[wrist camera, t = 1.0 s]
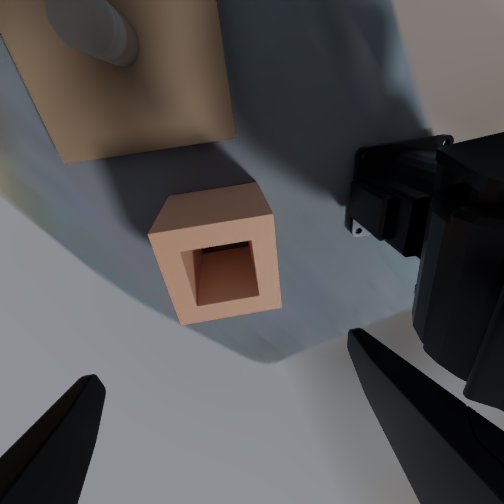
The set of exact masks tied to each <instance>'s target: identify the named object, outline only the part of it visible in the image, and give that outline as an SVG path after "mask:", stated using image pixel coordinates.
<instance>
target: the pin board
mask: <svg viewBox="0 0 504 504" xmlns="http://www.w3.org/2000/svg"><path fill="white" fill-rule="evenodd" d="M0 33H1V35H2V37H3V39H4V41H5V43H6V46H7V48H8V50H9V52H10V54H11V56H12V58H13V60H14V62H15V64H16V66H17V68H18V70H19V73H20V75H21V77H22V79H23V81H24V83H25V85H26V87H27V89H28V91H29V93H30V95H31V97H32V100H33V102H34V104H35V106H36V108H37V110H38V112H39V114H40V116H41V118H42V120H43V122H44V124H45V127H46V129H47V131H48V133H49V135H50V137H51V139H52V141H53V143H54V145H55V147H56V149H57V151H58V154H59V156H60V158H61V160H62V162H63V164H68V163H75V162H81V161H88V160H94V159H101V158H108V157H114V156H121V155H128V154H134V153H141V152H148V151H154V150H161V149H167V148H174V147H181V146H187V145H194V144H201V143H207V142H214V141H220V140H227V139H234V138H236V132H235V125H234V118H233V111H232V104H231V97H230V90H229V83H228V76H227V69H226V62H225V55H224V48H223V41H222V35H221V28H220V21H219V14H218V7H217V0H0Z"/></svg>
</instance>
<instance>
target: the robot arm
mask: <svg viewBox="0 0 504 504" xmlns="http://www.w3.org/2000/svg"><path fill="white" fill-rule="evenodd" d="M444 141H445V144H444V145H443V142H444ZM453 142H454V139H453V137H452V136H451V135H444V134H443V135H437V136H430V137H424V138H417V139H411V140H405V141H398V142H392V143H385V144H379V145H372V146H366V147H362V148H360V149H359V150H358V151H357V153H356V157H355V171H354V180H353V181H352V183H351V191H350V206H349V216H350V217H351V224H350V232H351V234H352V235H353V236H355V237H361V236H367V235H373V236H374V237H376V238H377V239H378V240H379V241H383V240H385V241H386V242H387V243H388V244H390V245H391V246H392V247H393V248H394V249H396V250H397V251H398V252H399V253H401V254H402V255H403V256H404V257H410V256H416V257H418V258H419V259H420V266H419V272H418V278H417V284H416V285H415V291H414V293H415V297H414V303H413V309H412V319H413V327H414V329H415V330H416V332H417V334H418V336H419V338H420V340H421V341H422V343H423V344H424V345H423V349H424V351H425V352H426V353H427V354H428V355H429V356H430V357H432V359H433V360H434V361H436V362H437V363H438V364H439V365H441V366H442V367H444V368H445V369H446V370H448V371H449V372H451V373H452V374H454V375H455V376H457V377H458V378H460V379H462V380H464V381H466V382H467V383H466V385H465V388H464V390H463V395H464V396H465V397H466V398H467V399H470V400H472V401H476V402H479V403H482V404H485V405H488V406H491V407H495V408H498V409H500V410H502V411H504V132H501V133H497V134H493V135H488V136H484V137H480V138H476V139H471V140H467V141H463V142H459V143H455V144H453ZM364 152H366V153H367V155H366V157H365V158H363V159H362V155H363V153H364ZM358 228H359V230H358V231H357V232H355V231H356V230H357V229H358ZM347 348H348V351H349V354H350V356H351V359H352V362H353V364H354V367H355V370H356V372H357V375H358V377H359V380H360V383H361V385H362V388H363V390H364V393H365V395H366V397H367V399H368V401H369V403H370V405H371V407H372V409H373V411H374V413H375V415H376V417H377V419H378V421H379V423H380V425H381V427H382V429H383V431H384V433H385V435H386V437H387V439H388V441H389V443H390V445H391V446H392V449H393V451H394V453H395V454H396V457H397V458H398V460H399V462H400V464H401V466H402V468H403V470H404V472H405V474H406V476H407V478H408V480H409V482H410V484H411V486H412V488H413V490H414V492H415V494H416V496H417V498H418V500H419V502H420V504H504V431H503V430H501V429H500V428H498V427H497V426H496V425H494V424H493V423H491V422H490V421H489V420H487V419H486V418H484V417H483V416H481V415H480V414H479V413H477V412H476V411H475V410H473V409H472V408H470V407H469V406H466V404H465V403H463V402H462V401H461V400H459V399H458V398H457V397H455V396H454V395H452V394H451V393H450V392H448V391H447V390H446V389H444V388H443V387H441V386H440V385H439V384H437V383H436V382H435V381H433V380H432V379H430V378H429V377H428V376H426V375H425V374H424V373H422V372H421V371H419V370H418V369H417V368H415V367H414V366H413V365H411V364H410V363H408V362H407V361H406V360H404V359H403V358H402V357H400V356H399V355H397V354H396V353H394V352H393V351H392V350H390V349H389V348H388V347H386V346H385V345H384V344H382V343H381V342H380V341H378V340H377V339H376V338H374V337H373V336H371V335H370V334H369V333H367V332H366V331H365V330H363V329H361V328H355V329H350V330H349V332H348V341H347ZM105 395H106V390H105V387H104V385H103V384H102V382H101V381H100V379H99V378H98V377H97V375H95V374H92V375H86V376H82V377H81V378H80V379H78V380H77V381H76V382H75V383H74V384H73V386H71V387H70V389H68V390H67V392H66V393H64V395H62V396H61V398H60V399H58V400H57V401H56V402H55V404H54V405H52V406H51V407H50V408H49V410H47V411H46V412H45V413H44V414H43V415H42V416H41V417H40V418H39V420H37V421H36V422H35V424H34V425H32V426H31V427H30V428H29V429H28V430H27V431H26V432H25V433H24V434H23V435H22V436H21V437H20V438H19V439H18V440H17V441H16V442H15V443H14V444H13V445H12V446H11V447H10V448H9V449H8V450H7V451H6V452H5V453H4V454H3V455H2V456H1V457H0V504H78V500H79V497H80V494H81V491H82V487H83V484H84V481H85V477H86V474H87V470H88V467H89V464H90V461H91V457H92V454H93V451H94V447H95V443H96V439H97V435H98V430H99V425H100V420H101V415H102V410H103V405H104V400H105Z"/></svg>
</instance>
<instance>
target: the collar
mask: <svg viewBox="0 0 504 504" xmlns="http://www.w3.org/2000/svg"><path fill="white" fill-rule="evenodd" d="M148 237H149V240H150V242H151V245H152V248H153V251H154V253H155V256H156V259H157V261H158V264H159V267H160V269H161V272H162V275H163V278H164V280H165V283H166V286H167V288H168V291H169V294H170V296H171V299H172V302H173V304H174V307H175V310H176V313H177V315H178V318H179V321H180V323H181V325H186V324H192V323H198V322H203V321H209V320H215V319H220V318H226V317H232V316H237V315H243V314H249V313H254V312H260V311H266V310H272V309H277V308H282V306H281V295H280V284H279V273H278V261H277V250H276V239H275V228H274V217H273V212H272V210H271V209H270V207H269V205H268V203H267V201H266V199H265V197H264V195H263V193H262V191H261V189H260V187H259V185H258V183H257V182H254V183H247V184H241V185H234V186H228V187H222V188H215V189H209V190H203V191H196V192H190V193H184V194H177V195H171V196H169V197H168V198H167V200H166V202H165V204H164V206H163V207H162V209H161V211H160V213H159V215H158V216H157V218H156V220H155V222H154V223H153V225H152V227H151V229H150V231H149V232H148ZM243 241H248V244H249V246H246V247H240V248H234V249H228V250H222V251H216V252H210V253H204V254H202V250H201V248H207V247H213V246H219V245H225V244H231V243H237V242H243Z"/></svg>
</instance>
